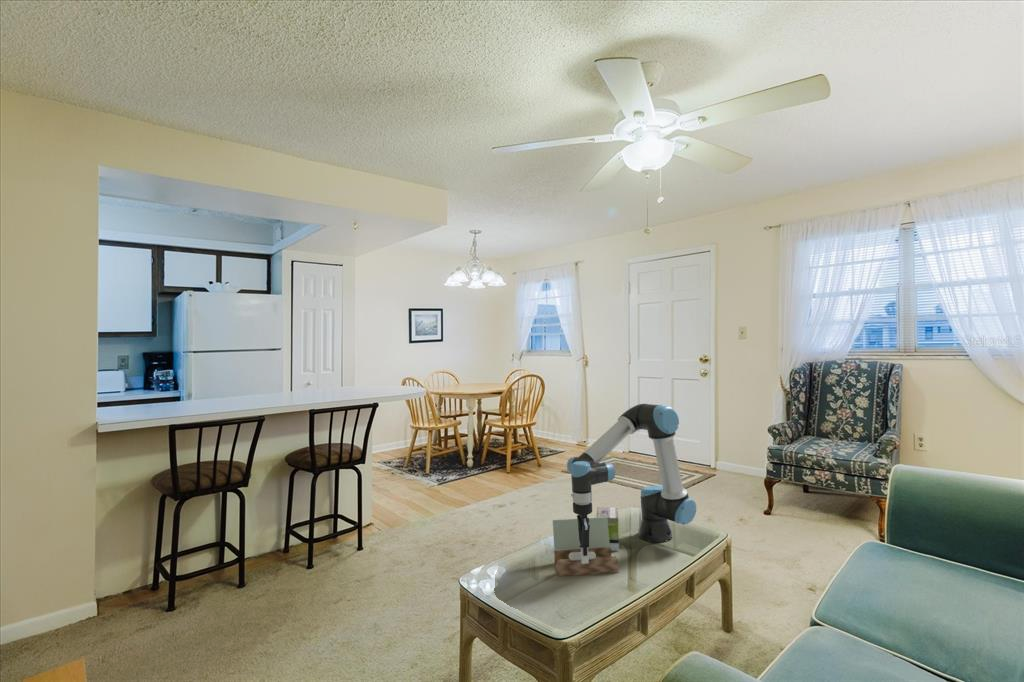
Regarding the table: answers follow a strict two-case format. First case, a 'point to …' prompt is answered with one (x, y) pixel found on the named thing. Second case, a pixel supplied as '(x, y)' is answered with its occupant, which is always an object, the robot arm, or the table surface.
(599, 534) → the cover
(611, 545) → the tea box
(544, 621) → the table surface
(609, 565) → the tissue box
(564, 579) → the table surface
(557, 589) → the table surface
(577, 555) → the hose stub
